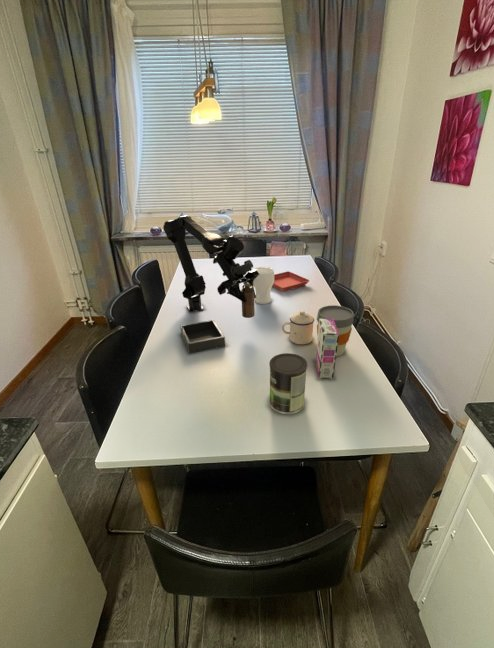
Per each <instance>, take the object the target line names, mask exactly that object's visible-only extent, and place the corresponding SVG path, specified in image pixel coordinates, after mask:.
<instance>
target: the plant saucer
mask: <svg viewBox="0 0 494 648" xmlns="http://www.w3.org/2000/svg"><path fill="white" fill-rule="evenodd" d="M308 283H310V279H308V278H305V277H303V276H301V275H299V274H296V273H294V272H292V271H287V270H286V271H284V272H279V273H274V283H273V286H272V287H273V288H275V289H277V290H279V291H281V292H287V291H290V290H294V289H297V288H301V287H304V286H306V285H307V284H308Z"/></svg>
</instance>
